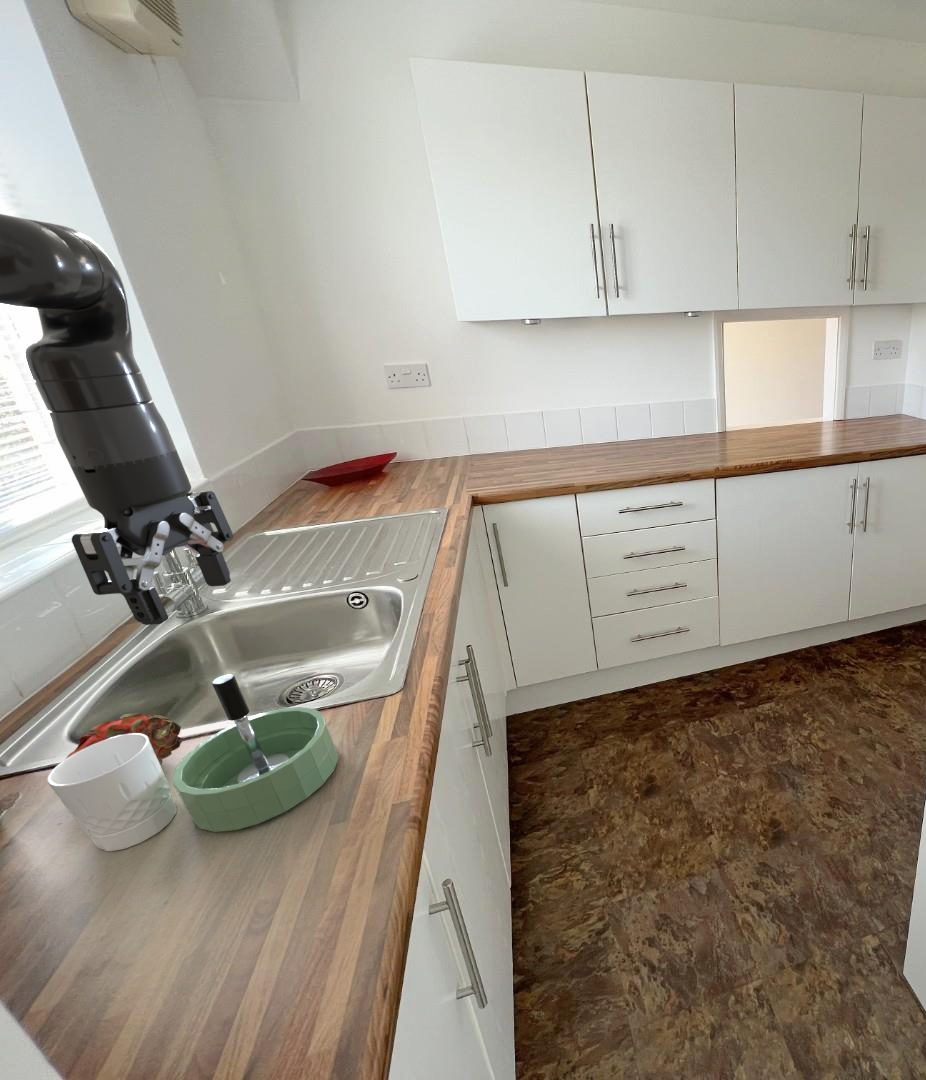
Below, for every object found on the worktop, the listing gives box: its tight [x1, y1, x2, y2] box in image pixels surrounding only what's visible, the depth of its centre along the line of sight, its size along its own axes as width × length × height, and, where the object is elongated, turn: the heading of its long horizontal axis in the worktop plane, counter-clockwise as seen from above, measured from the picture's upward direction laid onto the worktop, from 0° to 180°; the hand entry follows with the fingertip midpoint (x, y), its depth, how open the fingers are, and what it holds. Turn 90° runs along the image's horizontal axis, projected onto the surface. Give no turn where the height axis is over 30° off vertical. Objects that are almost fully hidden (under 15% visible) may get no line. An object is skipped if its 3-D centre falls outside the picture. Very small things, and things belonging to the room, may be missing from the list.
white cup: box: [46, 733, 178, 852], centre depth 65 cm, size 8×8×10 cm
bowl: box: [172, 706, 339, 833], centre depth 70 cm, size 15×15×6 cm
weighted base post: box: [211, 673, 289, 783], centre depth 68 cm, size 5×5×15 cm
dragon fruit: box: [63, 713, 184, 765], centre depth 74 cm, size 8×8×12 cm
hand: (189, 602), depth 62 cm, fingers open, 8 cm apart
